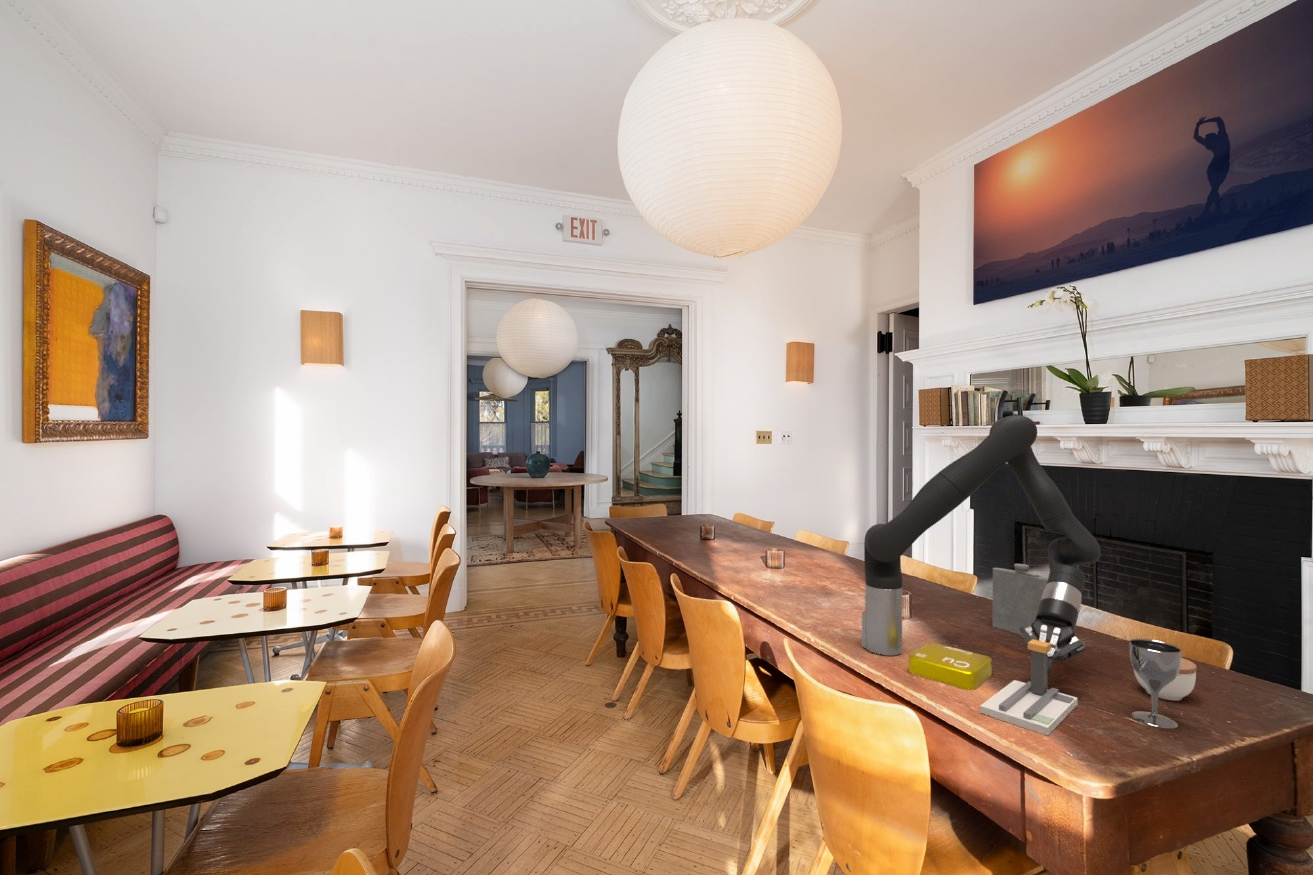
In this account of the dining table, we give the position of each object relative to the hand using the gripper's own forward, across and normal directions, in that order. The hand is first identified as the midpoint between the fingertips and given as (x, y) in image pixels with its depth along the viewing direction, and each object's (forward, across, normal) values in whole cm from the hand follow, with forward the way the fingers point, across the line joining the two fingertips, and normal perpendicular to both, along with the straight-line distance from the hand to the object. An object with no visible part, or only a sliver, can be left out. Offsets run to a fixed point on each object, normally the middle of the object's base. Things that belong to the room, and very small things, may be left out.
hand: (1042, 673), depth 128 cm
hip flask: (-28, -18, +36) cm, 49 cm away
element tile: (+5, -19, +4) cm, 20 cm away
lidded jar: (-12, +17, +20) cm, 29 cm away
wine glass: (0, +18, +8) cm, 20 cm away
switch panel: (+10, 0, -2) cm, 10 cm away
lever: (+4, 0, +1) cm, 4 cm away
